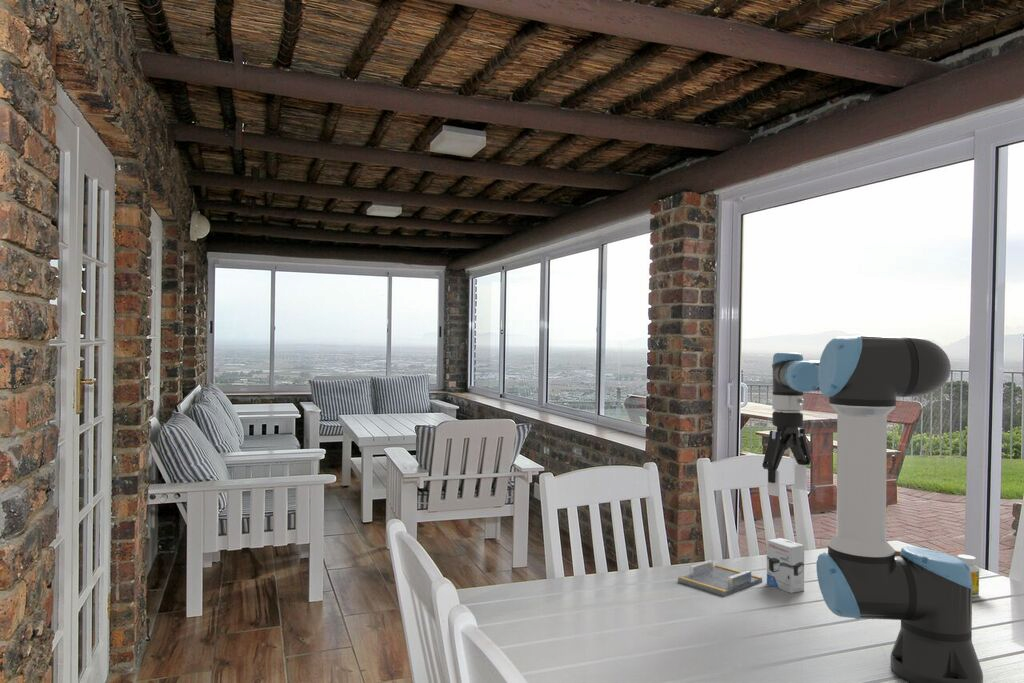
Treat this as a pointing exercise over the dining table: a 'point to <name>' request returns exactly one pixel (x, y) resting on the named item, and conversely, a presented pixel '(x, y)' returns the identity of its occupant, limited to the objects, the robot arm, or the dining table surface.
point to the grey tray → (718, 578)
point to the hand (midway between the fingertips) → (787, 492)
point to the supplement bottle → (972, 572)
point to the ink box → (785, 565)
